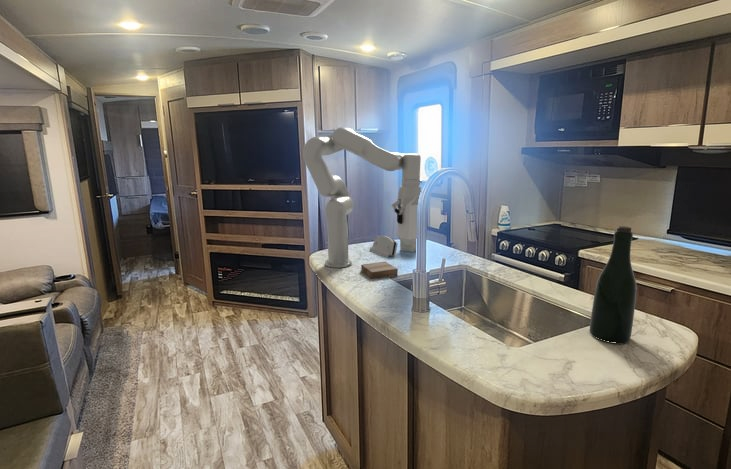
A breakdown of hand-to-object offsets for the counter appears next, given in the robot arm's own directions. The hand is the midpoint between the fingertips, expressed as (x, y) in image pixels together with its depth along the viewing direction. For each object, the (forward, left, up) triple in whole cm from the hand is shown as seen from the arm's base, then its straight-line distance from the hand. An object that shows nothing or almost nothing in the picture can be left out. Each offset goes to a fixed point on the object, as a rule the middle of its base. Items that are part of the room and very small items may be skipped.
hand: (409, 222), depth 176 cm
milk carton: (0, 0, -7) cm, 7 cm away
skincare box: (-31, +17, -22) cm, 42 cm away
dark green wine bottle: (+80, +23, -22) cm, 86 cm away
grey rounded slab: (-31, +3, -22) cm, 38 cm away
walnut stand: (-2, -14, -22) cm, 26 cm away
